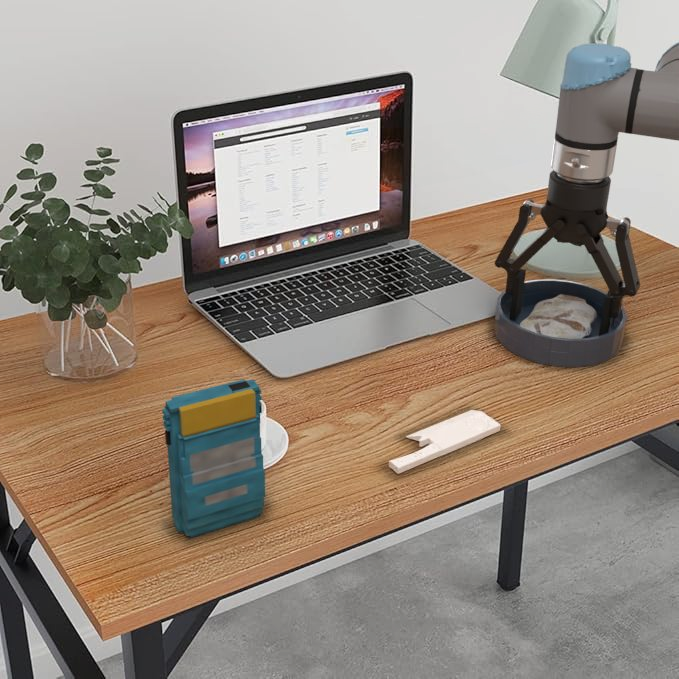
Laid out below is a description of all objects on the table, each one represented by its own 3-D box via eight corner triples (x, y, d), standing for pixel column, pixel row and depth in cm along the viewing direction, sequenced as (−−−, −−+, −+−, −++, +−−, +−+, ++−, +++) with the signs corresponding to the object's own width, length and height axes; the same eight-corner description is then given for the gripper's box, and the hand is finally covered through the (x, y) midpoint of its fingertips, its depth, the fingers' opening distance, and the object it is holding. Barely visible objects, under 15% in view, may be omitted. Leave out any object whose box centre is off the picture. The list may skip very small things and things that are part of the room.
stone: (581, 360, 137) (585, 338, 136) (512, 344, 140) (515, 322, 138) (599, 319, 147) (603, 298, 145) (534, 305, 150) (537, 285, 148)
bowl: (633, 321, 147) (638, 295, 145) (605, 379, 134) (609, 352, 132) (515, 294, 153) (518, 269, 151) (476, 347, 140) (479, 321, 138)
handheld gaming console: (255, 495, 112) (253, 374, 105) (272, 517, 109) (270, 395, 102) (167, 521, 108) (158, 398, 101) (182, 546, 105) (174, 420, 98)
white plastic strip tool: (370, 451, 119) (370, 443, 119) (472, 411, 127) (472, 403, 126) (397, 474, 116) (398, 465, 115) (500, 431, 123) (501, 423, 123)
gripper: (479, 165, 133) (465, 318, 144) (672, 201, 125) (641, 360, 136) (498, 147, 139) (483, 295, 150) (683, 180, 131) (653, 334, 142)
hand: (558, 326), depth 143 cm, fingers open, 11 cm apart
